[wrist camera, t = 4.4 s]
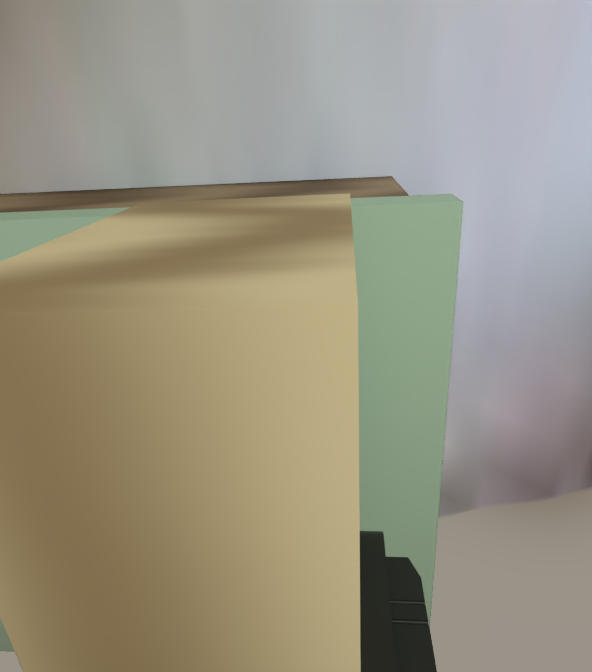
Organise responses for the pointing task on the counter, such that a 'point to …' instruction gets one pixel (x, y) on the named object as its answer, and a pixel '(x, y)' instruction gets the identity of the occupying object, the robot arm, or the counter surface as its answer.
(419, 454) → the lid
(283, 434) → the tan block
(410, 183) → the counter surface
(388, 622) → the robot arm
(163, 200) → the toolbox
